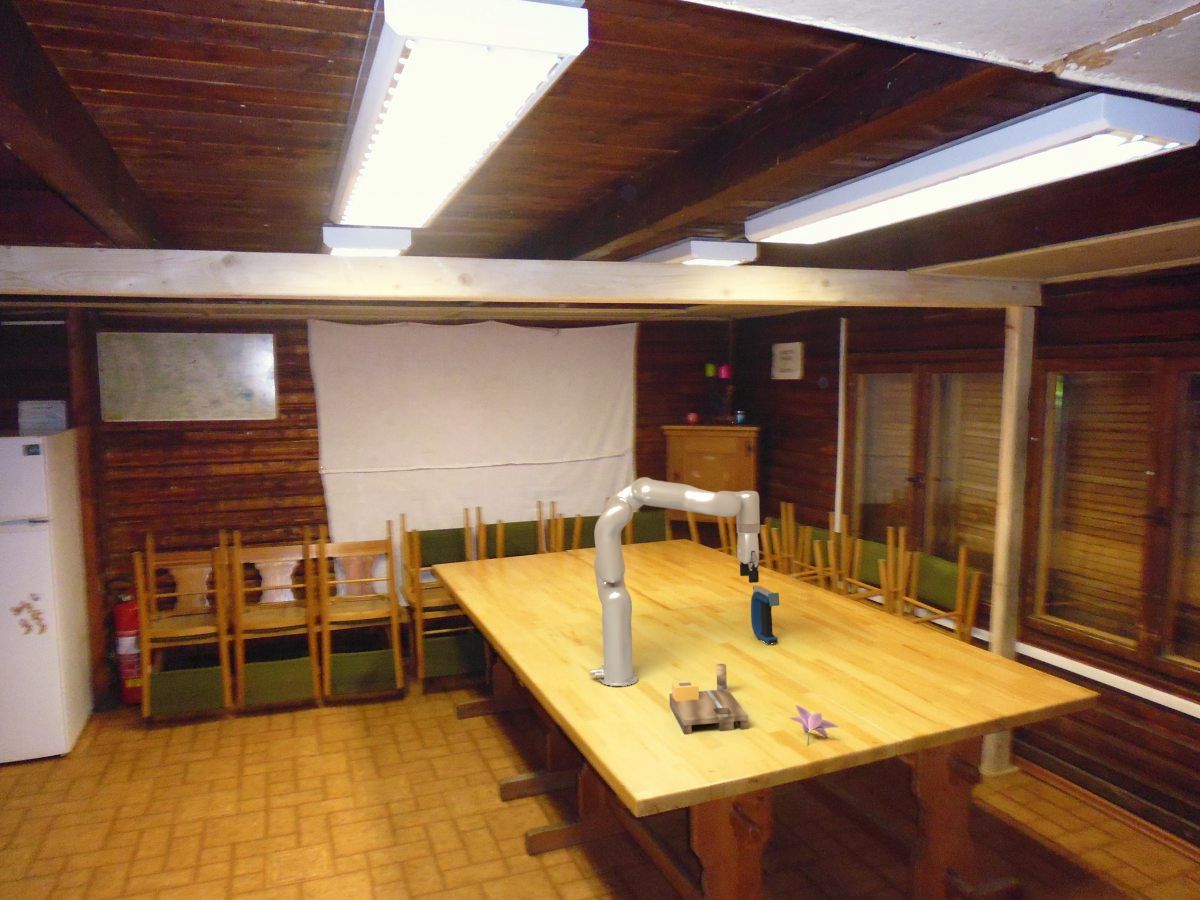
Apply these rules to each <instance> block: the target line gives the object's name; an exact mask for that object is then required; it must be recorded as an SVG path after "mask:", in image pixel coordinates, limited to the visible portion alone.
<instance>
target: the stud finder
mask: <svg viewBox="0 0 1200 900" xmlns="http://www.w3.org/2000/svg"><path fill="white" fill-rule="evenodd" d="M671 694H672V696H673V698H674V700H675V701H686V700H699V685H698V684H697V682H696V680H690V681H675V682H673V681H672V682H671Z"/></svg>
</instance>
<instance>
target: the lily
mask: <svg viewBox="0 0 1200 900" xmlns="http://www.w3.org/2000/svg"><path fill="white" fill-rule="evenodd" d="M795 708H796V710H797V713H798V714H799V716H792V717H789V719H790V720H792V721H795V722H797V723H799V724H801V725H802V730H803V732H805V733H807V732H808V735H807V743H806V746H809V744H810V743H809V742H810V741H809V740H810V734H811V732H812V731H816V732H817V733H818V734H820V735H822V736H823V737H825V738H829V736H828V733H827V731H826V730H825V729H831V728H832V729H833V728H835V729H836V728H839V725H837V724H836V723H834V722H832V721H830V720H827V719H823V716H822V715H823V714H822V713H821V712H815V713H811V712H810V711H809V710H807V709H806V708H804V707H802V706H801V705H798V704H796V705H795Z"/></svg>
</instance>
